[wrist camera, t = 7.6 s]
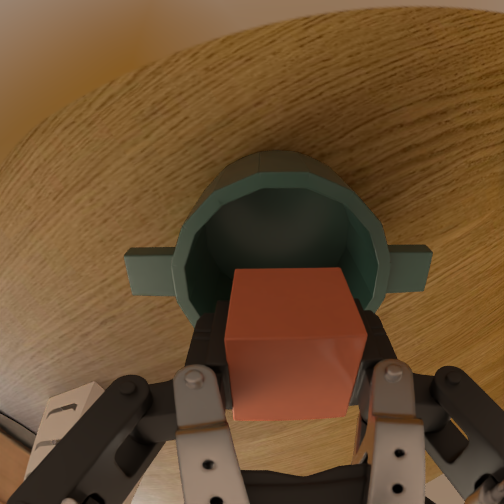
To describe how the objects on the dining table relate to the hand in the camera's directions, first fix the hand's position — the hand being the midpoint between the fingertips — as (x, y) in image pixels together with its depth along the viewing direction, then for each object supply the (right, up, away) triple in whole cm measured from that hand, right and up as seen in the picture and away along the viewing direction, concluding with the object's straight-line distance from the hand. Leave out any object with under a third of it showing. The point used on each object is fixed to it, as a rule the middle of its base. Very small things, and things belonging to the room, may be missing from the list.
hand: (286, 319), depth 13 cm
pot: (0, +4, +8) cm, 9 cm away
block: (0, 0, 0) cm, 0 cm away
